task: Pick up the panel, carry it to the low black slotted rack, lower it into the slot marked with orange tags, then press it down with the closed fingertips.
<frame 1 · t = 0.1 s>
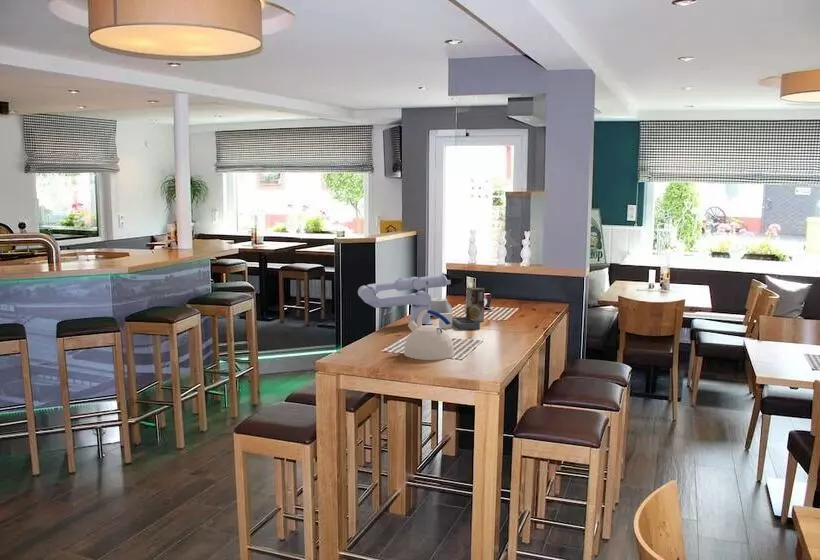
hand: (461, 279, 352), 22 cm above the table, tool horizontal, fingers open, 7 cm apart
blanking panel: (445, 328, 340), on the table
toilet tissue: (440, 316, 372), on the table
rack: (464, 326, 344), on the table
kettle: (428, 355, 286), on the table
coffee box: (474, 320, 360), on the table
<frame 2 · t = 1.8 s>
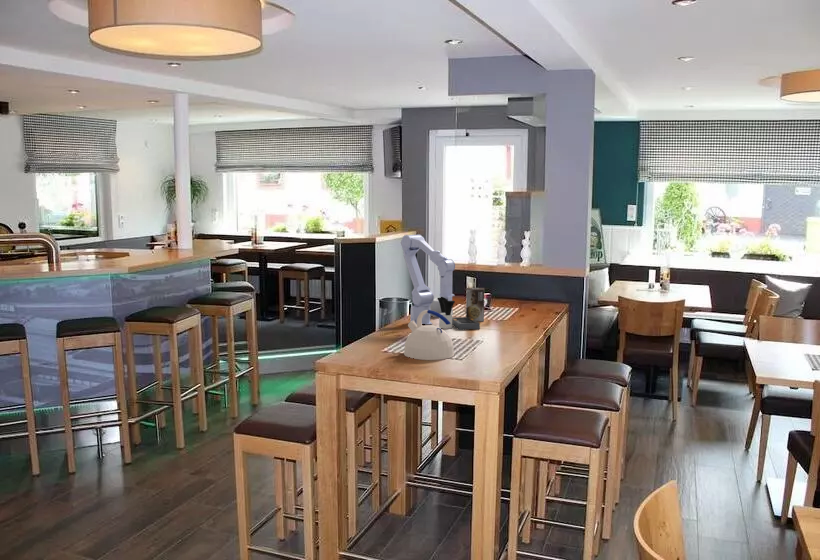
hand: (445, 313, 339), 7 cm above the table, tool pointing down, fingers open, 7 cm apart
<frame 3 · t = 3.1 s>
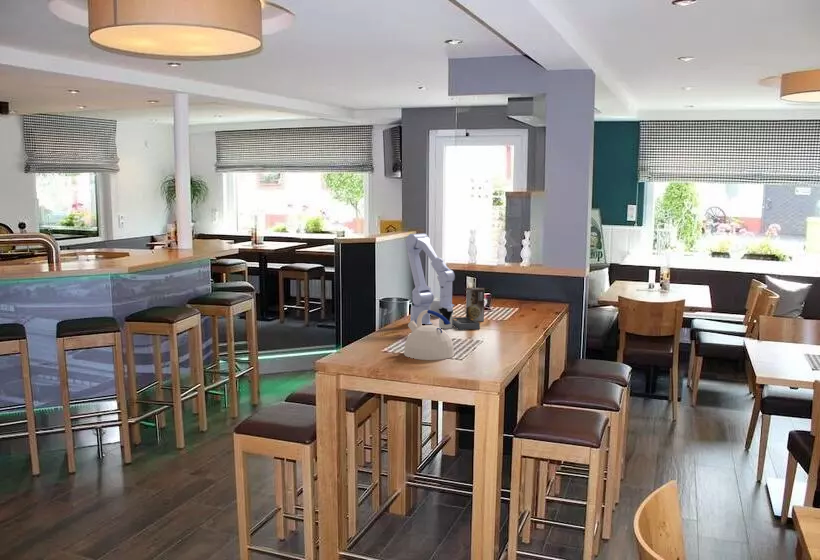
hand: (445, 323, 339), 2 cm above the table, tool pointing down, fingers closed on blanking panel, 2 cm apart
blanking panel: (445, 327, 340), on the table, touching gripper
everything else where it was.
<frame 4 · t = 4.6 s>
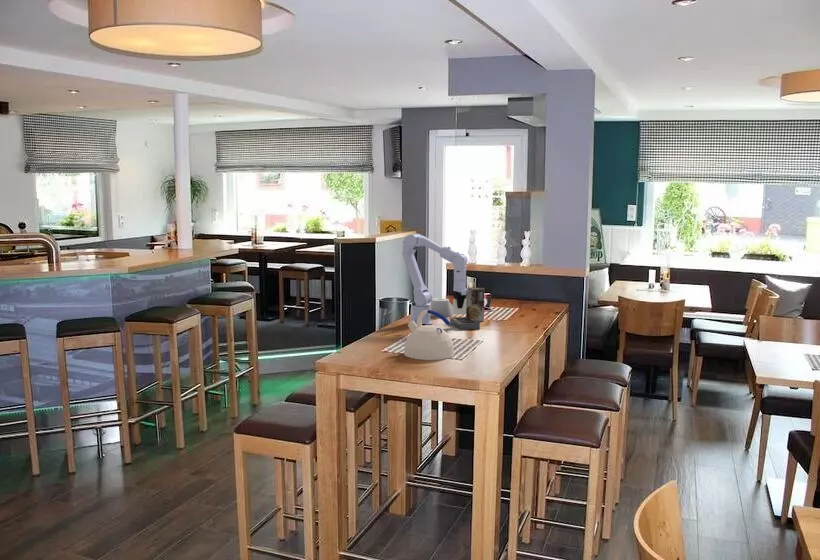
hand: (459, 307, 343), 9 cm above the table, tool pointing down, fingers closed on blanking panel
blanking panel: (459, 313, 343), point 6 cm above the table, touching gripper
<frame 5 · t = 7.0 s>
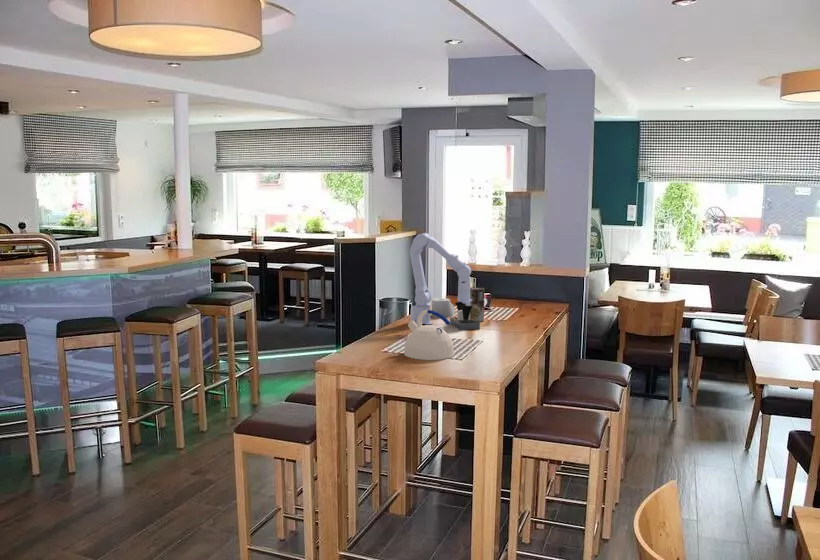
hand: (463, 318, 345), 4 cm above the table, tool pointing down, fingers open, 7 cm apart
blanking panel: (463, 324, 345), resting on rack
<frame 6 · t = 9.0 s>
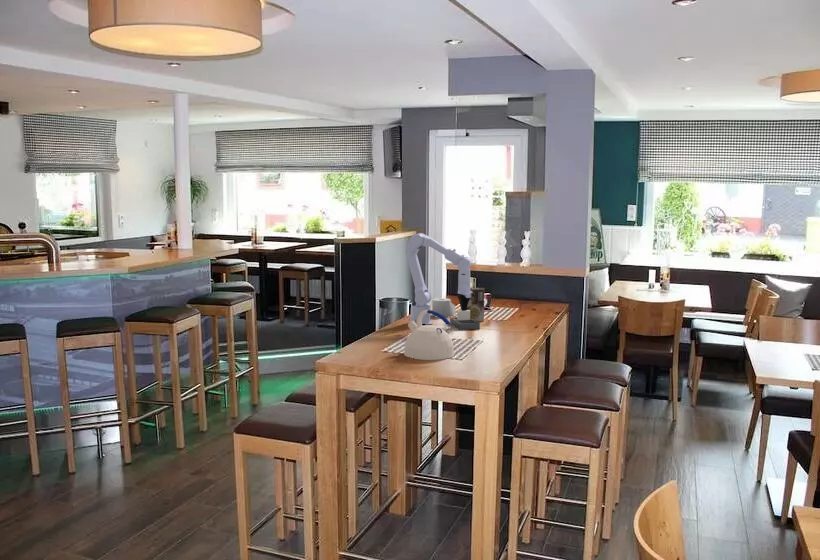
hand: (463, 310, 344), 7 cm above the table, tool pointing down, fingers closed, pressing on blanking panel
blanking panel: (463, 324, 345), resting on rack, touching gripper
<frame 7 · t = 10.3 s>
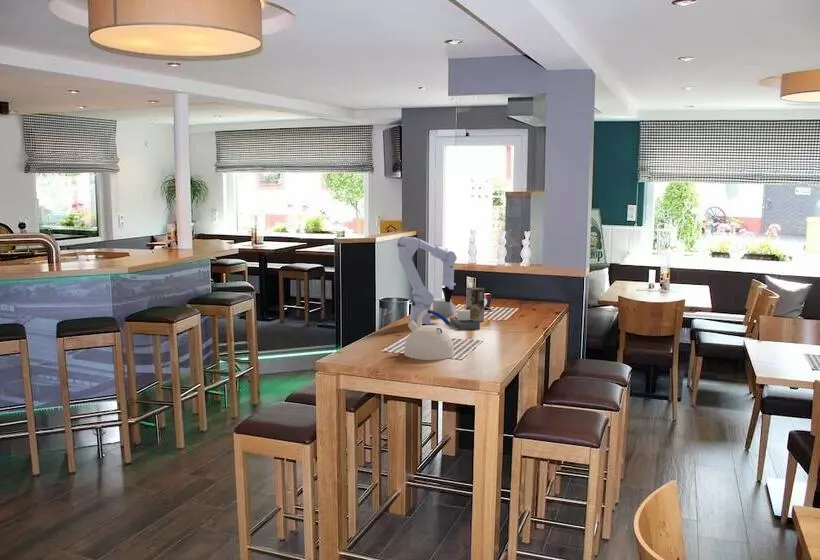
hand: (447, 301, 358), 9 cm above the table, tool pointing down, fingers closed
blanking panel: (463, 324, 345), resting on rack
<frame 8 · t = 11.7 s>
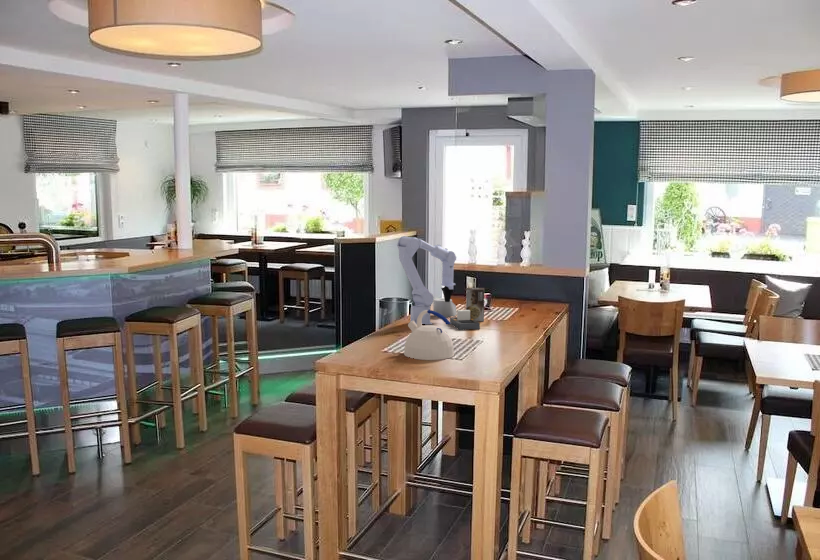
hand: (447, 301, 358), 9 cm above the table, tool pointing down, fingers closed
at the end: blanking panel 0.1 cm from the target spot on the rack, point 0.5 cm above the rack's base; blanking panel tilted 0°; the gripper is holding nothing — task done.
